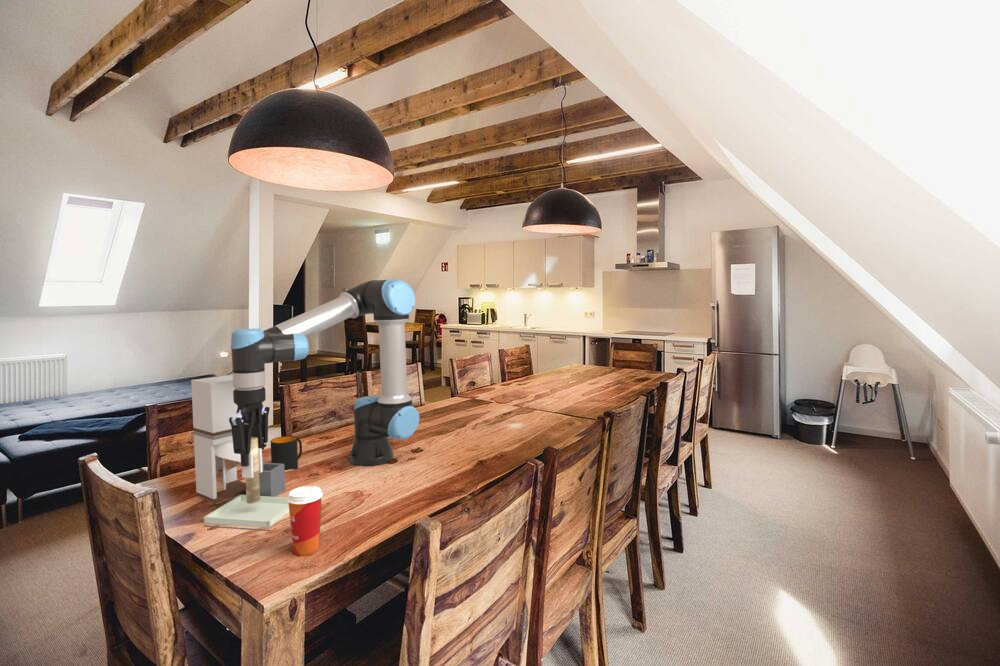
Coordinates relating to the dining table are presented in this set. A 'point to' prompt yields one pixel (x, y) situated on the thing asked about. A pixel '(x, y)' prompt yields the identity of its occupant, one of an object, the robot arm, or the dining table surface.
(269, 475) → the pen cup
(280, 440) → the mug
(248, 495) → the dowel
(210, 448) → the white coffee maker
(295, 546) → the paper cup
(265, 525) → the tray
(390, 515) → the dining table surface
